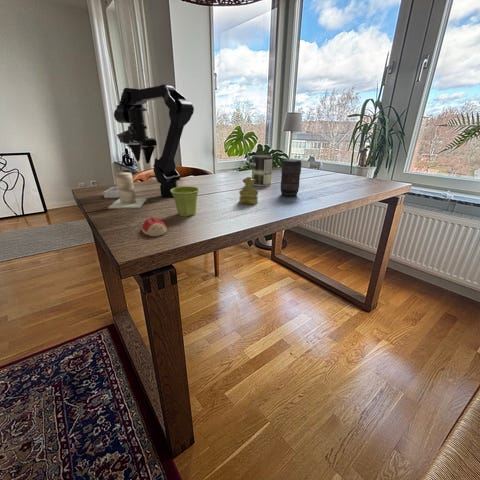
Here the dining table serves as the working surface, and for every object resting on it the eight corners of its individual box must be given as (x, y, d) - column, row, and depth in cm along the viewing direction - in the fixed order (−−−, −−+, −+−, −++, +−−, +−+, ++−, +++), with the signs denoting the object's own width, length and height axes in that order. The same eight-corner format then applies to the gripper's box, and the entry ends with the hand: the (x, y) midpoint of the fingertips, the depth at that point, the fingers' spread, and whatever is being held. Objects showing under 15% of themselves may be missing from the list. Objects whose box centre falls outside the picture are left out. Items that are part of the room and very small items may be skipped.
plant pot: (194, 219, 85) (193, 193, 82) (168, 217, 87) (165, 191, 84) (204, 210, 94) (202, 187, 90) (179, 208, 96) (177, 185, 92)
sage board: (146, 199, 106) (146, 198, 106) (139, 208, 96) (138, 206, 96) (119, 200, 105) (118, 198, 105) (108, 208, 95) (108, 207, 95)
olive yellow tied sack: (254, 205, 100) (255, 179, 95) (236, 203, 102) (236, 178, 98) (259, 200, 106) (260, 176, 102) (242, 199, 108) (243, 175, 104)
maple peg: (131, 199, 104) (126, 171, 99) (139, 202, 101) (134, 173, 96) (118, 202, 100) (112, 173, 96) (125, 205, 97) (119, 175, 92)
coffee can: (253, 186, 129) (253, 157, 123) (250, 182, 138) (250, 154, 133) (273, 186, 130) (275, 157, 124) (268, 181, 140) (270, 154, 134)
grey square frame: (134, 192, 118) (133, 186, 116) (127, 197, 109) (126, 191, 108) (113, 192, 117) (112, 186, 116) (104, 198, 108) (103, 192, 107)
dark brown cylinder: (300, 194, 116) (303, 159, 110) (295, 198, 109) (299, 162, 103) (282, 192, 119) (285, 158, 113) (277, 196, 112) (279, 160, 106)
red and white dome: (148, 240, 71) (146, 228, 70) (138, 228, 78) (136, 217, 77) (171, 234, 75) (170, 223, 73) (160, 224, 82) (158, 213, 80)
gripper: (108, 123, 108) (115, 161, 114) (127, 123, 96) (134, 166, 102) (134, 123, 115) (139, 159, 122) (155, 123, 103) (159, 163, 110)
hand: (142, 162), depth 114 cm, fingers open, 9 cm apart
